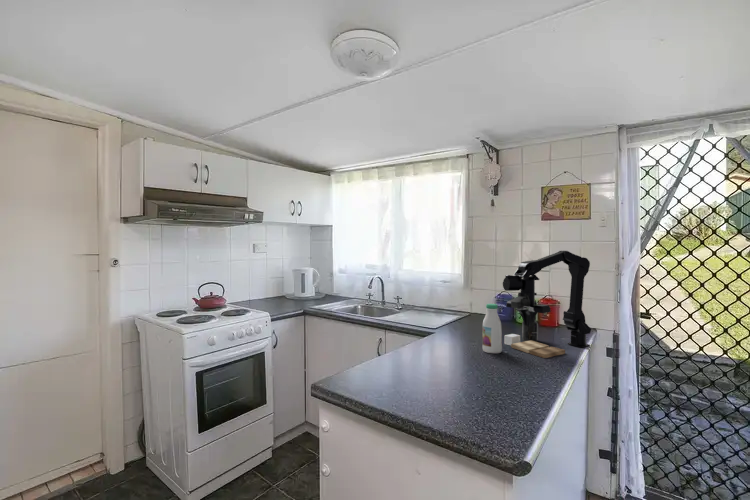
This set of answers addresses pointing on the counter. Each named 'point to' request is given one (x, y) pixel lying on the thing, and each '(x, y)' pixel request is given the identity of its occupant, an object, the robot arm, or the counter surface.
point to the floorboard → (548, 352)
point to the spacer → (511, 339)
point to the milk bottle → (492, 330)
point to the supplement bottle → (530, 331)
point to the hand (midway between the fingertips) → (527, 325)
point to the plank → (528, 346)
